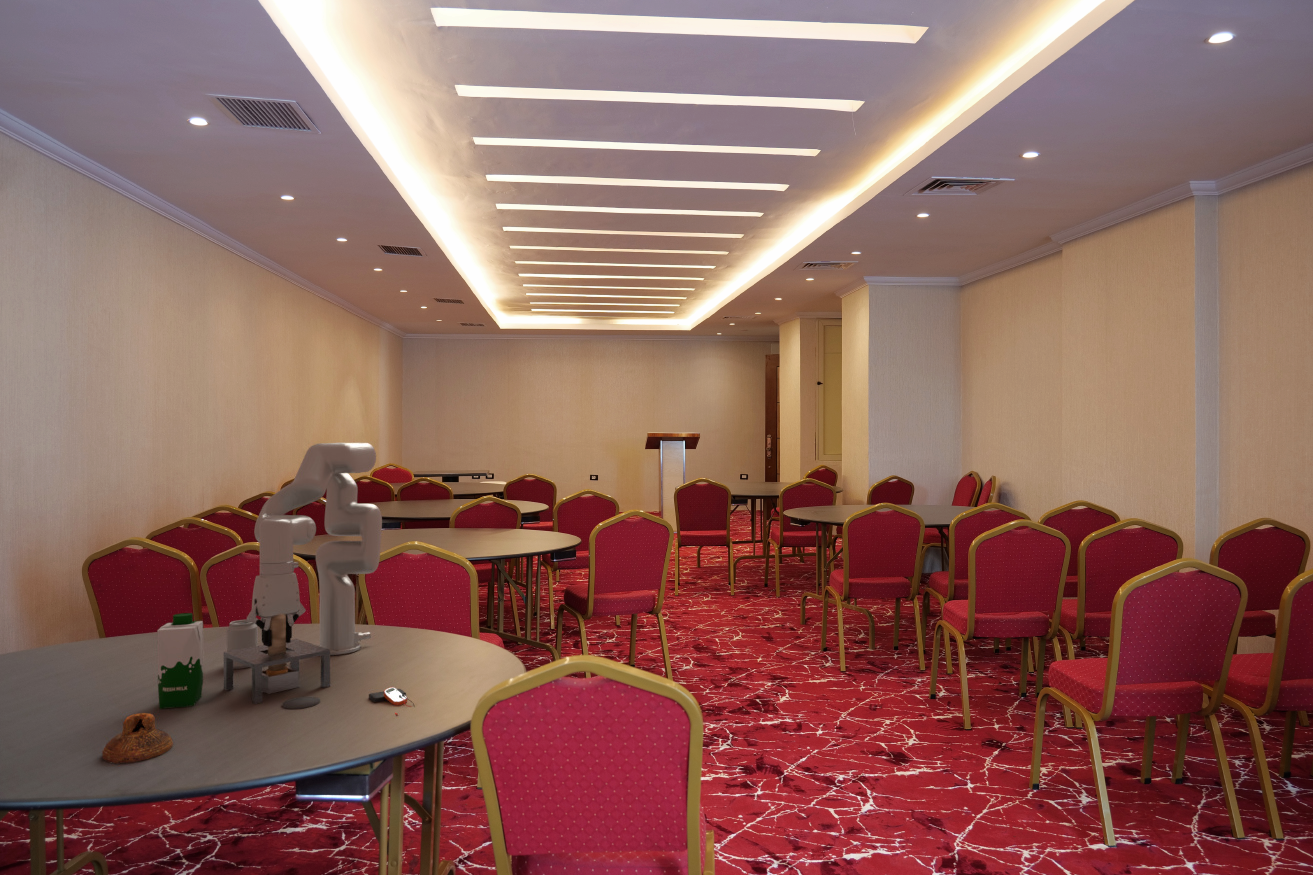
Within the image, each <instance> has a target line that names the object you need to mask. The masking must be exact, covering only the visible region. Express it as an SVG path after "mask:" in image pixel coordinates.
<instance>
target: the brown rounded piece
mask: <svg viewBox="0 0 1313 875" xmlns="http://www.w3.org/2000/svg"><path fill="white" fill-rule="evenodd" d="M173 745H174V742H173V739H172V737H171V735H170V734H169V733H168V732H166V731H164V730H162V729H158V728H157V727H156V718H155V716H154V714H152V713H148V712H146V713H145V712H140V713H133V714H131V715H129V716H127V717H126V718H125V719H124V721H122V731H121V732H120V733H118V734H116V735H115V736H114V737H112V738H111V739H110V740H108V742H107V743H106V744H105V746H104V748H103V749H102V753H101V754H102V756H101V757H102V760H103V761H105V762H107V763H110V762H112V763H111V764H123V763H135V762H141V761H144V760H149V759H153V758H155V757H159V756H161V755H163V754H165V753H166V752H168V751H170V750H171V748H172V747H173Z"/></svg>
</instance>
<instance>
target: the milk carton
mask: <svg viewBox="0 0 1313 875" xmlns="http://www.w3.org/2000/svg"><path fill="white" fill-rule="evenodd" d="M193 616H194V615H193V613H192V612H182V613H176V614H173V615H172V622H167V623H165V624H164V625H162V626H160V627H159V628H158V629H157V688H158V689H157V690H158V705H159V710H161V709H171V708H172V709H173V708H184V707H194V706H195V705H196V703H198V701H199V700H200V699H202V696H203V695H202V694H203V683H204V622H203V620H198V621H197V620H194V621H193Z"/></svg>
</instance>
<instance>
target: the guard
mask: <svg viewBox="0 0 1313 875" xmlns="http://www.w3.org/2000/svg"><path fill="white" fill-rule="evenodd" d="M316 657H320V687H321V688H323V689H325V688H329V687H331V655H330V650H329V649H326V648H323V647H320V646H318V645H317V644H314V643H310V642H308V641H305V640H302V639H298V638H293V639H291V642H290V643H286V652H284V653H279V654H274V655H268V646H265V645H263V644H260V645H258V646H254V647H249V648H243V649H238V650H232V651H227V650H226V651H223V690H225V691H229V690H233V689H234V669H233V660H234V661H237V662H239V663H242V664H244V665H247V666H249V667H248V668H251V693H252V694H251V697H252V698H251V700H252V704H255V705H256V704H261V703H263V693H264V694H265V693H266V694H267V695H270V694H275V693H279V692H284V691H287V690H293V689H296V688H299V687H300V661H301V660H306V659H311V658H316ZM282 663H286V664H287V663H290V666H288V665H286V667H288V672H287V673H282V674H278V675H273V676H269V675H266V670H267V669H263V668H266V667H267V668H268V666H272V665H277V664H282Z"/></svg>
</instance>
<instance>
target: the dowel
mask: <svg viewBox="0 0 1313 875" xmlns="http://www.w3.org/2000/svg"><path fill="white" fill-rule="evenodd" d="M270 630H271V631H272V645H271V646H270V647H268V655H274V654H279V653H284V652H286V615H284V614H279V615H277V616H274V617H271V621H270ZM286 666H287V663H282V664H277V665H272V666H267V669H268V670H269V671H280V670H284V669H286Z"/></svg>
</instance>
